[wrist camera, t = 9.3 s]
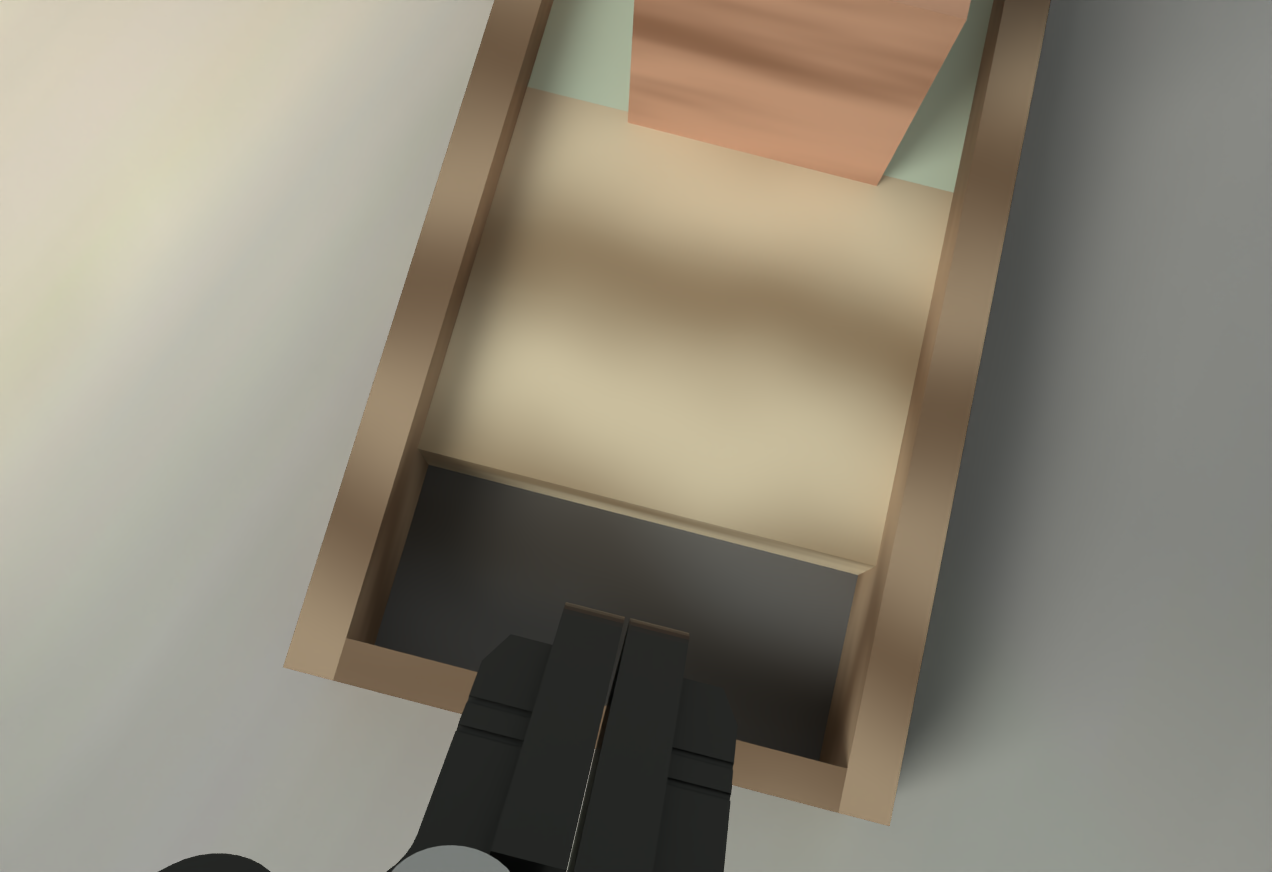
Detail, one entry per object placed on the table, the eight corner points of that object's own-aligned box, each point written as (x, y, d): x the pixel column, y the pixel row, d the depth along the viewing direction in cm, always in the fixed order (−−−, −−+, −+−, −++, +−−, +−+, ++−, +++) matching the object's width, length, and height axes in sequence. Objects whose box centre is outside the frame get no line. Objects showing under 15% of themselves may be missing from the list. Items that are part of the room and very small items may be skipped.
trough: (852, 810, 31) (889, 825, 27) (321, 671, 31) (283, 667, 27) (1062, -224, 38) (1115, -329, 34) (631, -327, 39) (634, -443, 35)
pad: (928, 228, 35) (953, 192, 32) (532, 129, 35) (527, 86, 32) (992, -76, 37) (1020, -131, 34) (620, -166, 37) (622, -227, 35)
